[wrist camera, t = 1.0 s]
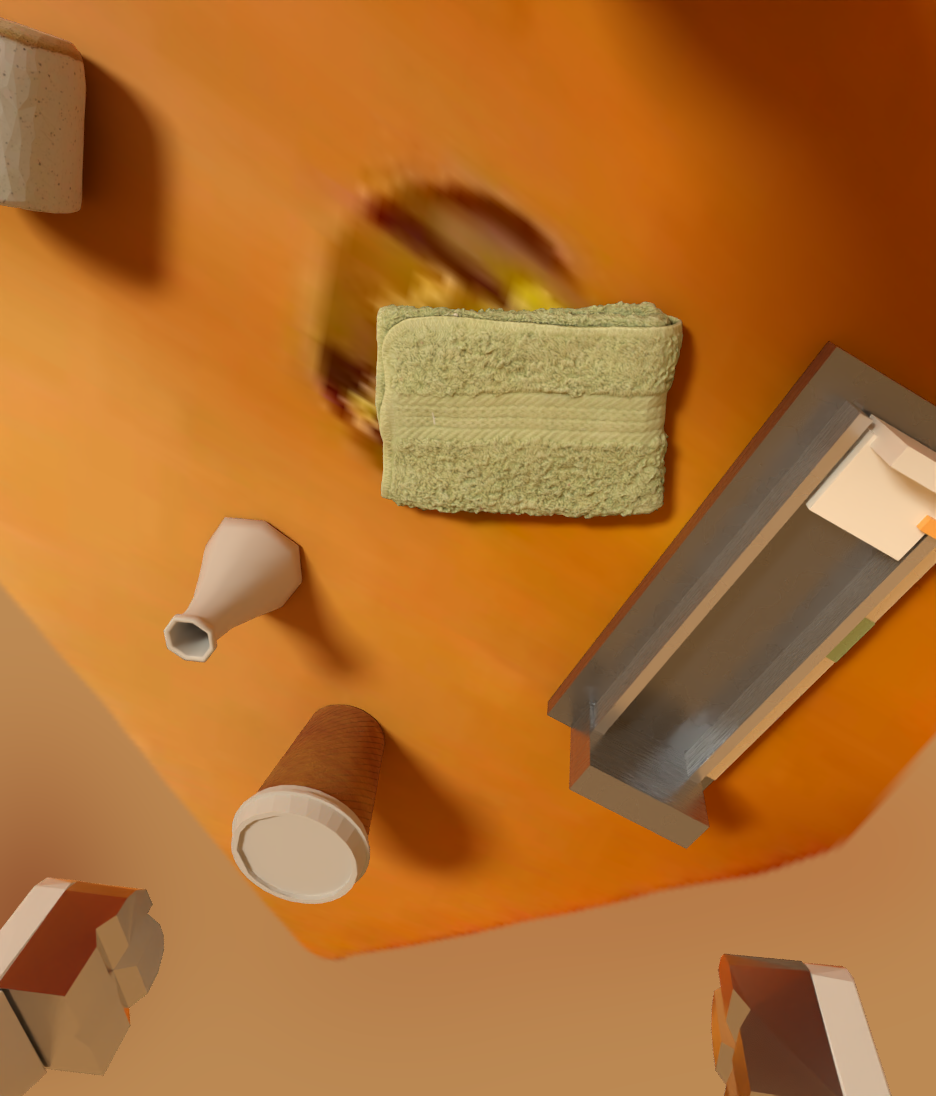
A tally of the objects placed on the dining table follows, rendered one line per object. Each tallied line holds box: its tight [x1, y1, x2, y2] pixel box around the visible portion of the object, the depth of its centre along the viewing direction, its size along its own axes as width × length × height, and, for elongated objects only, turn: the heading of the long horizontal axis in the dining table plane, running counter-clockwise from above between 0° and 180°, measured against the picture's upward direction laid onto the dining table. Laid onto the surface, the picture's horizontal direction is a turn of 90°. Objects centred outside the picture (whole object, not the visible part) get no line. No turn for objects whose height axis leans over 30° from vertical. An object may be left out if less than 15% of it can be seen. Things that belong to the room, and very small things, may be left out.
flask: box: [164, 517, 302, 662], centre depth 48 cm, size 7×7×10 cm
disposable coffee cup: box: [231, 705, 385, 904], centre depth 53 cm, size 10×10×12 cm
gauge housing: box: [547, 341, 936, 849], centre depth 45 cm, size 30×13×8 cm, turn 152°
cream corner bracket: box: [804, 414, 936, 561], centre depth 39 cm, size 6×10×5 cm, turn 62°
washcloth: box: [375, 301, 683, 519], centre depth 44 cm, size 13×18×3 cm
